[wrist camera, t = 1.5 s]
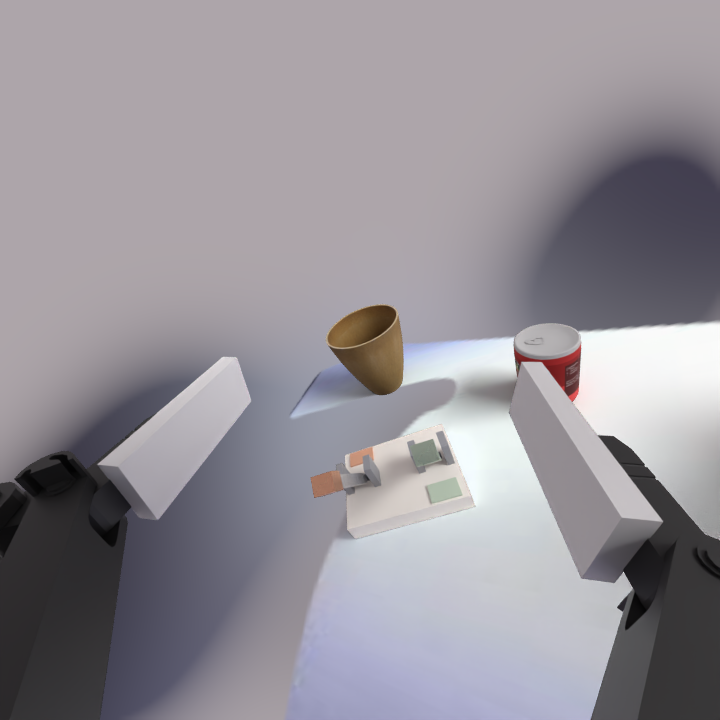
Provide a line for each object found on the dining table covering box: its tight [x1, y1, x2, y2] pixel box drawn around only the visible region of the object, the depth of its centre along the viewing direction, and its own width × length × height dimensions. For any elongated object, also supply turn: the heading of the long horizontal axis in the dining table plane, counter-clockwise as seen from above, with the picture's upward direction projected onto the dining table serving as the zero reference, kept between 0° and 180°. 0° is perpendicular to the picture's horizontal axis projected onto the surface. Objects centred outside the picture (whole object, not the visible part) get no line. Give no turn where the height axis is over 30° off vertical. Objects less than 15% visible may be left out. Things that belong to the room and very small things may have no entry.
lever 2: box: [410, 439, 442, 467], centre depth 34 cm, size 2×2×15 cm
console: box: [336, 424, 475, 539], centre depth 41 cm, size 17×12×7 cm
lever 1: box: [311, 471, 370, 498], centre depth 36 cm, size 2×2×15 cm
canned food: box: [514, 323, 581, 402], centre depth 42 cm, size 8×8×11 cm
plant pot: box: [326, 304, 403, 395], centre depth 58 cm, size 15×15×16 cm
